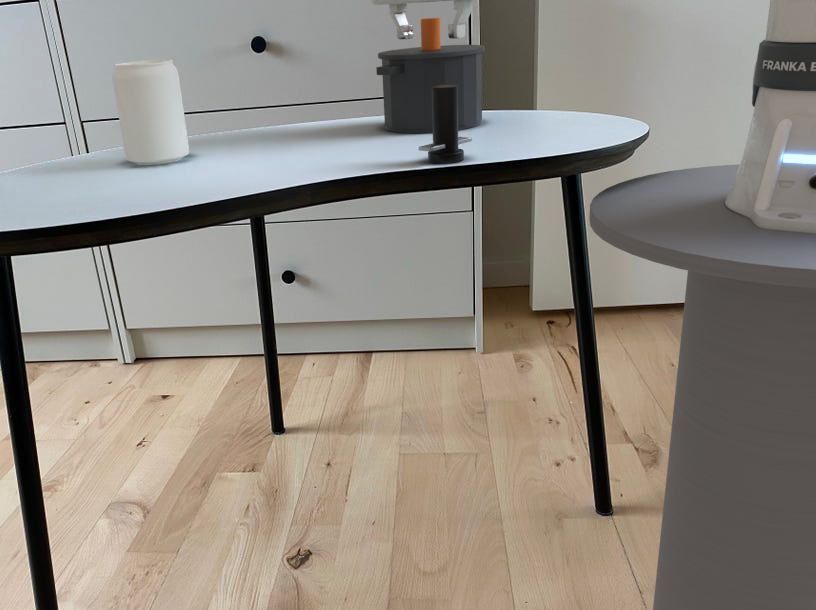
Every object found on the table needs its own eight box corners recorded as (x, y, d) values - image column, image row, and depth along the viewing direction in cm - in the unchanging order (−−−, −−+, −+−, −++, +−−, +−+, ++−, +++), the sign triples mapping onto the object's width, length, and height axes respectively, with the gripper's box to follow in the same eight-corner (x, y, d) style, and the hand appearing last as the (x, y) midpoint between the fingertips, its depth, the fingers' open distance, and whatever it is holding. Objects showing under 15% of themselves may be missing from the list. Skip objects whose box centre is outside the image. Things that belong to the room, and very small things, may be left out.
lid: (506, 53, 114) (507, 12, 112) (435, 65, 105) (434, 20, 103) (427, 53, 124) (426, 16, 122) (356, 64, 115) (354, 24, 113)
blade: (452, 153, 97) (451, 81, 94) (479, 156, 94) (479, 82, 91) (411, 164, 93) (409, 89, 90) (438, 167, 90) (436, 90, 87)
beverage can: (132, 169, 103) (115, 67, 98) (122, 160, 109) (105, 64, 105) (196, 160, 105) (182, 60, 100) (182, 151, 112) (169, 57, 107)
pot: (512, 117, 119) (513, 47, 115) (422, 139, 108) (420, 61, 104) (441, 113, 128) (439, 48, 125) (351, 132, 117) (347, 61, 113)
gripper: (507, -85, 103) (506, 35, 108) (389, -68, 117) (393, 37, 122) (474, -85, 99) (475, 39, 104) (357, -67, 113) (362, 41, 119)
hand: (430, 38), depth 113 cm, fingers open, 8 cm apart
